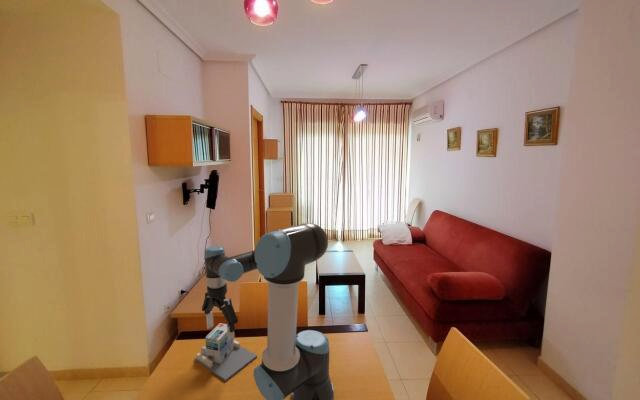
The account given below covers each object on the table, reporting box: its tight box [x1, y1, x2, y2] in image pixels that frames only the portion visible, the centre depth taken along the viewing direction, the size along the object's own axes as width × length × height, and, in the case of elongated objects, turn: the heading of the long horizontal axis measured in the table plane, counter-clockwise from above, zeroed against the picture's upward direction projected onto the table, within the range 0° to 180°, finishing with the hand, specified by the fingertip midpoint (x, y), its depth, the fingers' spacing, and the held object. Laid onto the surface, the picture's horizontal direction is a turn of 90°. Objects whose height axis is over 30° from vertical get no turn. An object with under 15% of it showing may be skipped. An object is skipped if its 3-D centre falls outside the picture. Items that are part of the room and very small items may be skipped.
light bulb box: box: [204, 322, 235, 364], centre depth 124 cm, size 11×7×11 cm, turn 165°
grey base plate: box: [193, 339, 258, 382], centre depth 124 cm, size 20×16×5 cm
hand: (220, 332), depth 123 cm, fingers open, 13 cm apart
